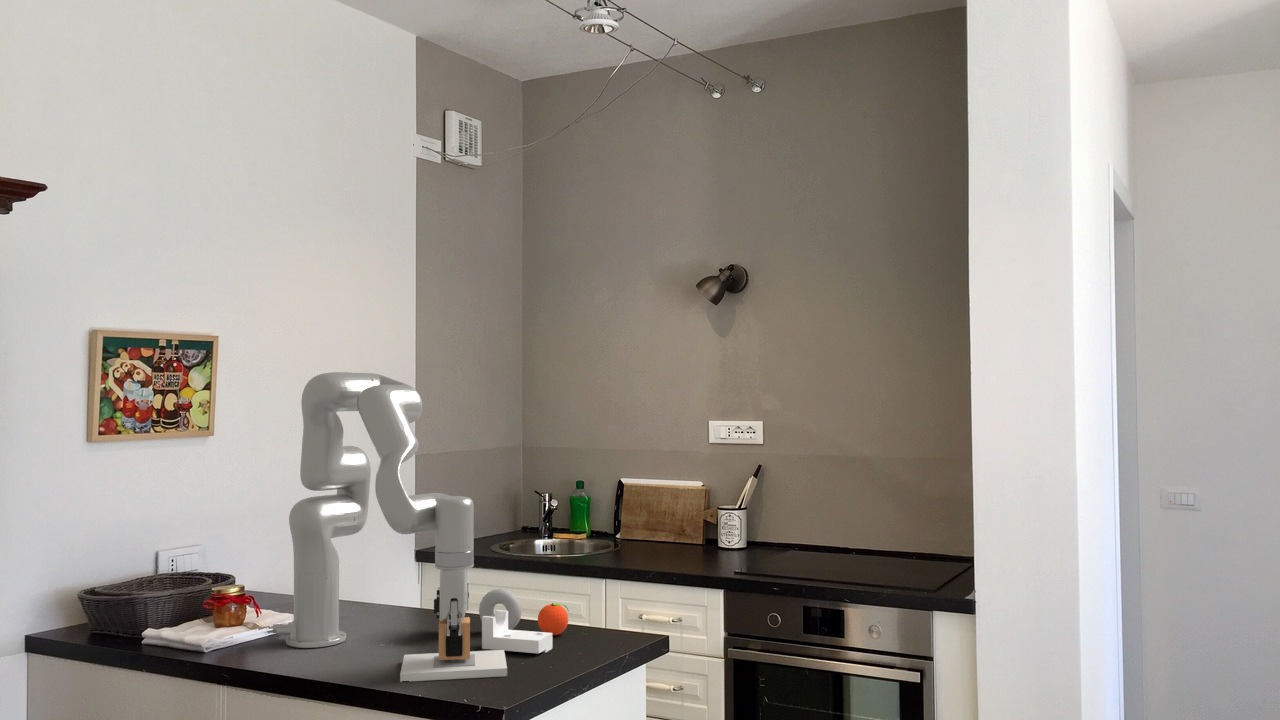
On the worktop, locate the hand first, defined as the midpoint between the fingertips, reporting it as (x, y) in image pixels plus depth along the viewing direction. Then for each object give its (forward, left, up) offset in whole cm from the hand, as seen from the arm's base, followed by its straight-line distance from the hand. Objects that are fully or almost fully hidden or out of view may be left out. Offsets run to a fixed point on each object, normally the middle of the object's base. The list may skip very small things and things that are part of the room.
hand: (454, 651), depth 197 cm
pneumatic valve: (-1, +28, -4) cm, 28 cm away
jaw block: (0, 0, -1) cm, 1 cm away
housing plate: (0, 0, -3) cm, 3 cm away
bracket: (+13, +12, -4) cm, 18 cm away
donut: (+10, +28, -4) cm, 30 cm away
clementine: (+22, +24, -4) cm, 33 cm away
